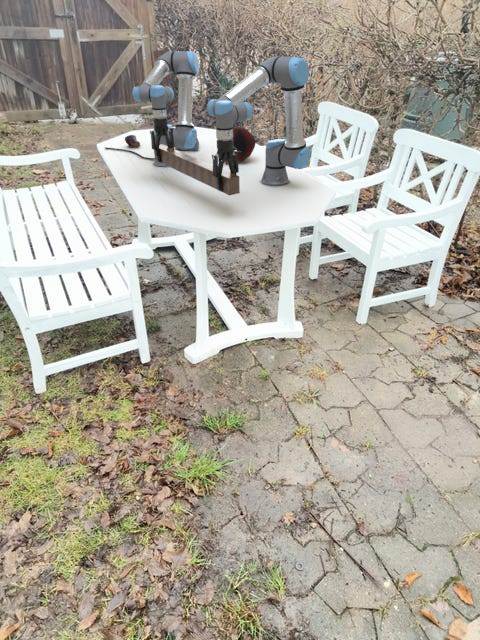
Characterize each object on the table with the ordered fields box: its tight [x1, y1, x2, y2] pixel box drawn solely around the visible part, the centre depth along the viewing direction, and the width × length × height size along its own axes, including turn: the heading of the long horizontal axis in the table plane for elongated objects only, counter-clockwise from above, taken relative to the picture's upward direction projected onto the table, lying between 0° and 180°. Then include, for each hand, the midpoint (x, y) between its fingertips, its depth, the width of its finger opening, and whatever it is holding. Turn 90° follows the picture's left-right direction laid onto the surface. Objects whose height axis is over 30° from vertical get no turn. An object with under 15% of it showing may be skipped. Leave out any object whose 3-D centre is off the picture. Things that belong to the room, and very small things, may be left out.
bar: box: [153, 144, 241, 196], centre depth 235 cm, size 77×6×8 cm, turn 35°
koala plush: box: [175, 127, 200, 152], centre depth 321 cm, size 17×18×20 cm
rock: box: [124, 134, 141, 148], centre depth 329 cm, size 12×9×10 cm
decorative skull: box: [225, 126, 257, 166], centre depth 295 cm, size 21×24×25 cm
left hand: (164, 160), depth 258 cm, fingers closed on bar, 6 cm apart
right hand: (226, 189), depth 215 cm, fingers closed on bar, 6 cm apart
